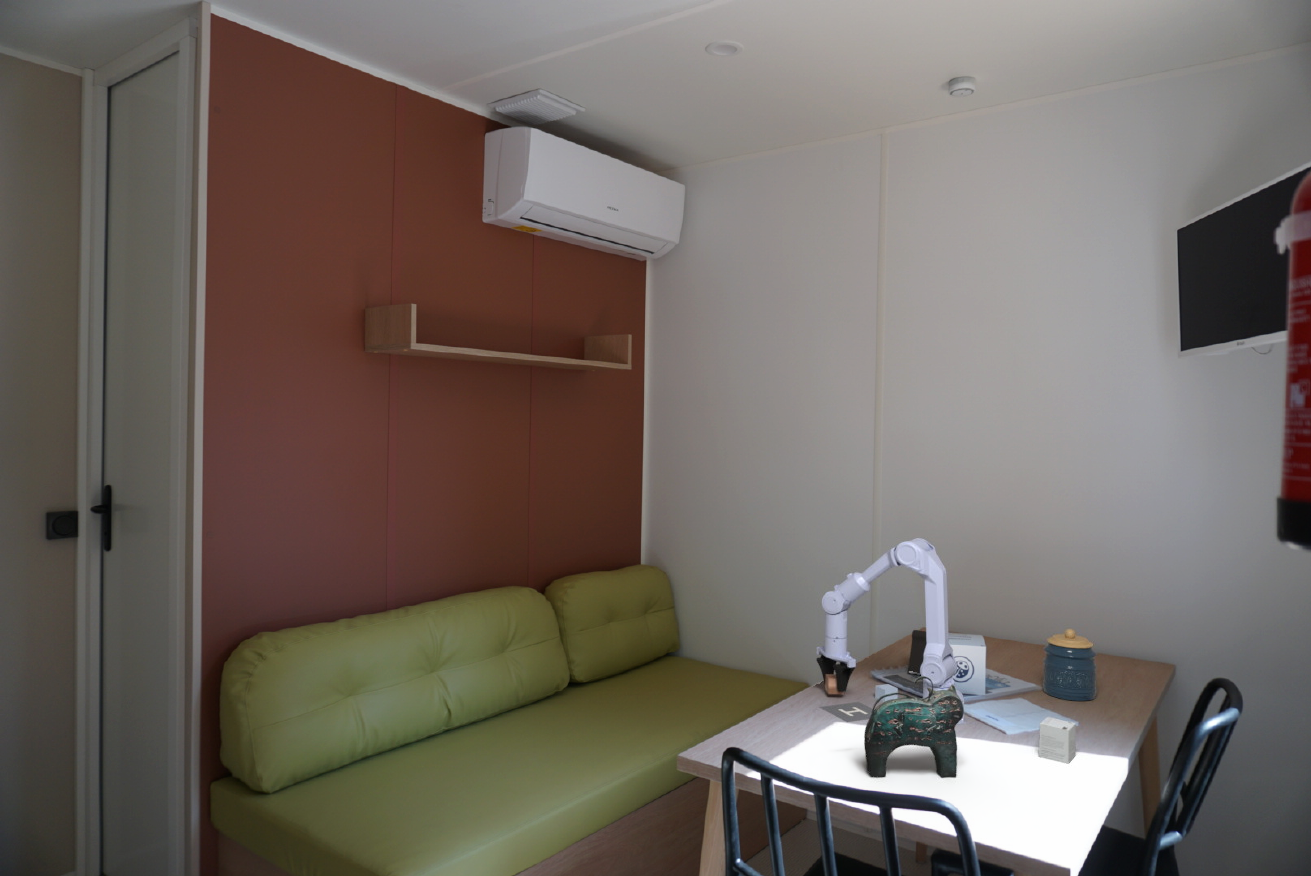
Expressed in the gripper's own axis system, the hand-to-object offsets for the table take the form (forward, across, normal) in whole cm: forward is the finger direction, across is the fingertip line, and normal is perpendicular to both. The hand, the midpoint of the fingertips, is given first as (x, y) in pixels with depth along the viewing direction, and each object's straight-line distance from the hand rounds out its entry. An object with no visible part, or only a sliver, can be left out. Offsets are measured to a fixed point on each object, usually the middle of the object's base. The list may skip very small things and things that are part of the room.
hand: (835, 687), depth 221 cm
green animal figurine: (+3, -48, +15) cm, 50 cm away
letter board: (+3, -12, +3) cm, 13 cm away
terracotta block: (+1, 0, 0) cm, 1 cm away
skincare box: (+3, -52, -21) cm, 56 cm away
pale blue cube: (+3, -7, -11) cm, 13 cm away
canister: (+3, -20, -62) cm, 65 cm away
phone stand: (+3, +11, -39) cm, 41 cm away
